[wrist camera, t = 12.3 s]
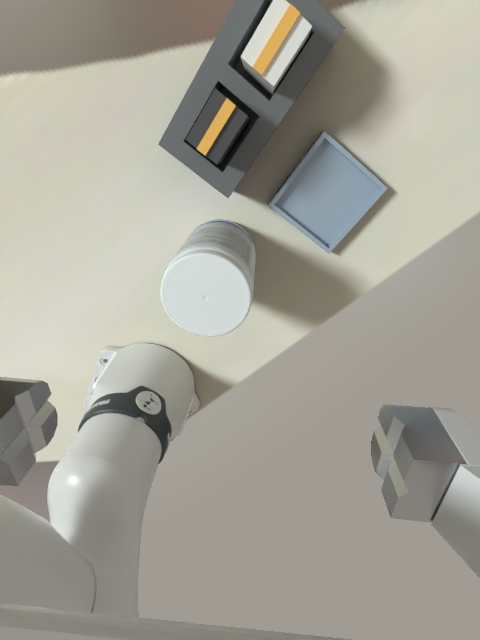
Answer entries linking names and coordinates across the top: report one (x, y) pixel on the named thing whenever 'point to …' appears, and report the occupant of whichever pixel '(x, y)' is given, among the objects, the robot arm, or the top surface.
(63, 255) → the top surface
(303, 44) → the white orange-striped block
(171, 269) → the supplement tub
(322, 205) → the slate tray
